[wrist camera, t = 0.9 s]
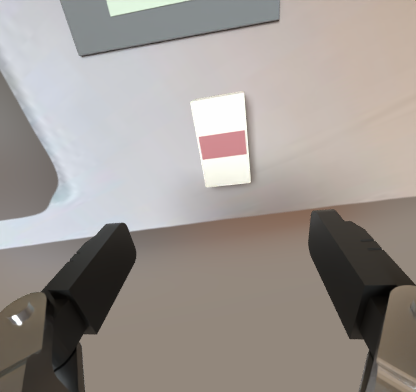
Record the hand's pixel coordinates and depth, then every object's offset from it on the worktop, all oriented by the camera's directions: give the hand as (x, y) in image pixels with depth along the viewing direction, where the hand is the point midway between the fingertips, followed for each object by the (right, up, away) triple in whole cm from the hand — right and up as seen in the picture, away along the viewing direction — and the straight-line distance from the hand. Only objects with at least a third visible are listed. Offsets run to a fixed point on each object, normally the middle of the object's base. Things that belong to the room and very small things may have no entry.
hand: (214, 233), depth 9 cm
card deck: (+2, +9, +16) cm, 18 cm away
